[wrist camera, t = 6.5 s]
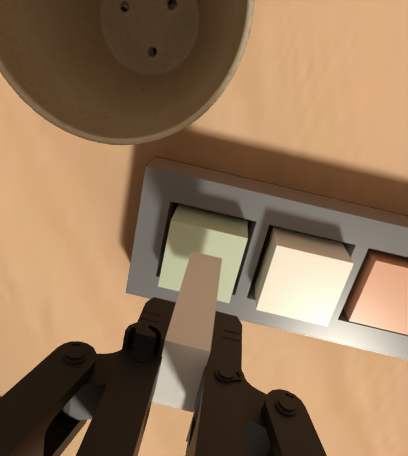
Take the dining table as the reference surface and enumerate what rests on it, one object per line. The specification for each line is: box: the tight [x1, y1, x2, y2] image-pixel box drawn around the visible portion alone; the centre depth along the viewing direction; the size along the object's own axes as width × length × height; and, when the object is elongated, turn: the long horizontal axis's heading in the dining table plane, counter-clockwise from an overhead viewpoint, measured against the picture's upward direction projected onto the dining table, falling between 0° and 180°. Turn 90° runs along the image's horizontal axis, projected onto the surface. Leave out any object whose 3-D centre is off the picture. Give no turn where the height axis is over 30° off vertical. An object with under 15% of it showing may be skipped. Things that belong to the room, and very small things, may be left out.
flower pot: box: [0, 0, 254, 145], centre depth 16 cm, size 10×10×7 cm
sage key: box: [158, 204, 248, 303], centre depth 21 cm, size 4×4×2 cm
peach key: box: [343, 248, 408, 335], centre depth 22 cm, size 4×4×2 cm
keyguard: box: [126, 157, 408, 360], centre depth 23 cm, size 19×8×2 cm, turn 78°
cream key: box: [255, 227, 354, 326], centre depth 21 cm, size 4×4×2 cm
